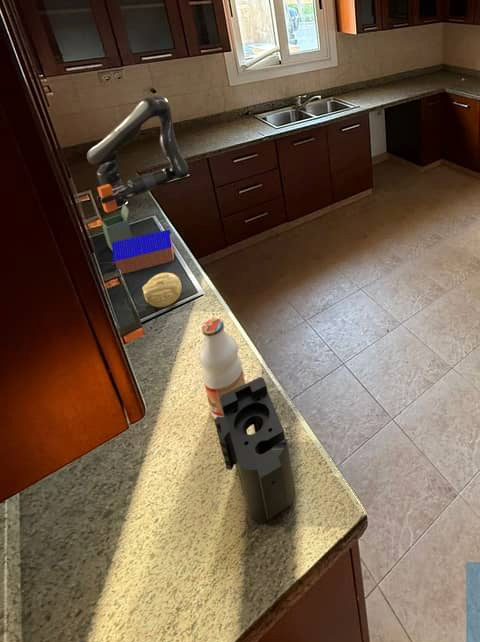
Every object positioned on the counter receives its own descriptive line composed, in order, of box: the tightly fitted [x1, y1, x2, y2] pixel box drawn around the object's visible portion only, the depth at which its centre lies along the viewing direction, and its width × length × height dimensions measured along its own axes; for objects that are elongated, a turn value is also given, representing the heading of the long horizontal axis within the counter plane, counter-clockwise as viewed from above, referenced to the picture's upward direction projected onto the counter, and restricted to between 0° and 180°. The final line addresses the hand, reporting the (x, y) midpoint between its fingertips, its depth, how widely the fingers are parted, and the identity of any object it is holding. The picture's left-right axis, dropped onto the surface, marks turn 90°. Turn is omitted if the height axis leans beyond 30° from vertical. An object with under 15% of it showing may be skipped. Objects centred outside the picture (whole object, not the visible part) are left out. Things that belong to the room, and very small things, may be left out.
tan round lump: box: [142, 272, 183, 308], centre depth 151 cm, size 12×12×11 cm
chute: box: [101, 213, 133, 252], centre depth 184 cm, size 8×8×12 cm
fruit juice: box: [198, 317, 246, 420], centre depth 110 cm, size 9×9×28 cm
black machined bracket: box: [214, 376, 296, 526], centre depth 92 cm, size 12×21×22 cm, turn 34°
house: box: [112, 229, 175, 275], centre depth 174 cm, size 12×20×12 cm, turn 117°
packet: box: [97, 184, 118, 214], centre depth 178 cm, size 4×3×11 cm
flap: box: [120, 204, 131, 220], centre depth 184 cm, size 8×4×1 cm
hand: (99, 200), depth 175 cm, fingers closed on packet, 3 cm apart
